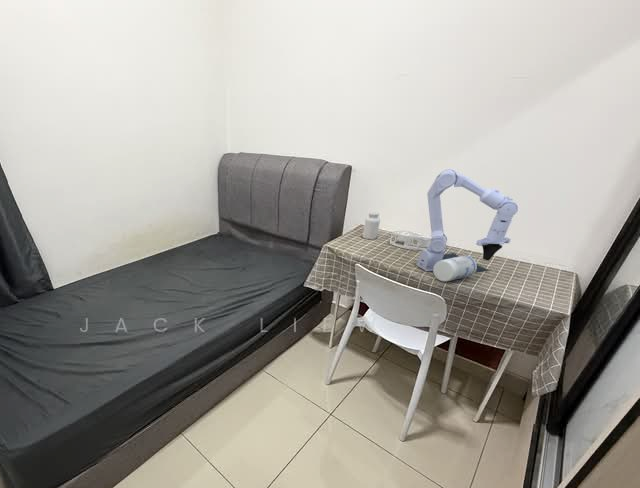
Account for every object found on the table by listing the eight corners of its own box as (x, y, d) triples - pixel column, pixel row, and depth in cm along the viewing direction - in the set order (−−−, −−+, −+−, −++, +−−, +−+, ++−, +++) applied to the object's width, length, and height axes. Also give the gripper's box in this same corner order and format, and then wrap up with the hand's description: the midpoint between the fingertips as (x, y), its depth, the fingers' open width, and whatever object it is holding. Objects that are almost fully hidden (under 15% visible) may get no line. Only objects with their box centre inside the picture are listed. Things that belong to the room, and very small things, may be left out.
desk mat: (457, 273, 138) (457, 273, 138) (426, 256, 156) (426, 256, 156) (487, 270, 141) (487, 269, 141) (453, 253, 158) (453, 253, 158)
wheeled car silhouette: (432, 248, 165) (436, 235, 161) (424, 254, 158) (428, 240, 155) (396, 239, 178) (399, 227, 175) (387, 244, 172) (390, 231, 168)
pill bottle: (363, 239, 179) (368, 214, 172) (361, 234, 186) (365, 210, 179) (377, 240, 178) (383, 215, 171) (374, 235, 185) (379, 211, 177)
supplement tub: (473, 279, 133) (449, 286, 129) (453, 270, 141) (430, 276, 137) (481, 259, 128) (456, 265, 124) (460, 251, 136) (436, 257, 132)
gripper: (492, 234, 120) (479, 264, 127) (522, 231, 122) (508, 261, 129) (476, 228, 126) (465, 258, 133) (506, 226, 129) (493, 255, 135)
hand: (486, 259), depth 131 cm, fingers closed
